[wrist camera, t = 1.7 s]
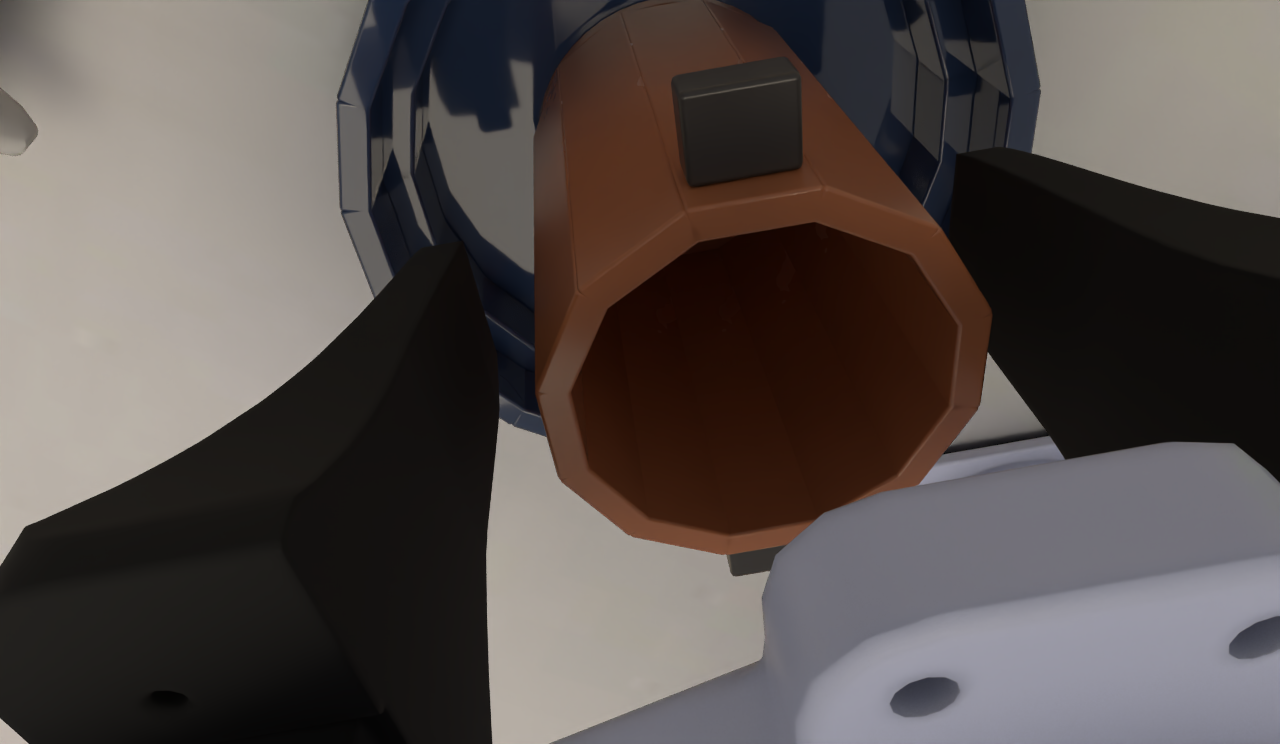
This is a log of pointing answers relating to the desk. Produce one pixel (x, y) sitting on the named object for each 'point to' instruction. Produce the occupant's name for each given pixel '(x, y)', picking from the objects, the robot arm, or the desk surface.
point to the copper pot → (734, 290)
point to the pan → (519, 76)
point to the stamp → (14, 126)
